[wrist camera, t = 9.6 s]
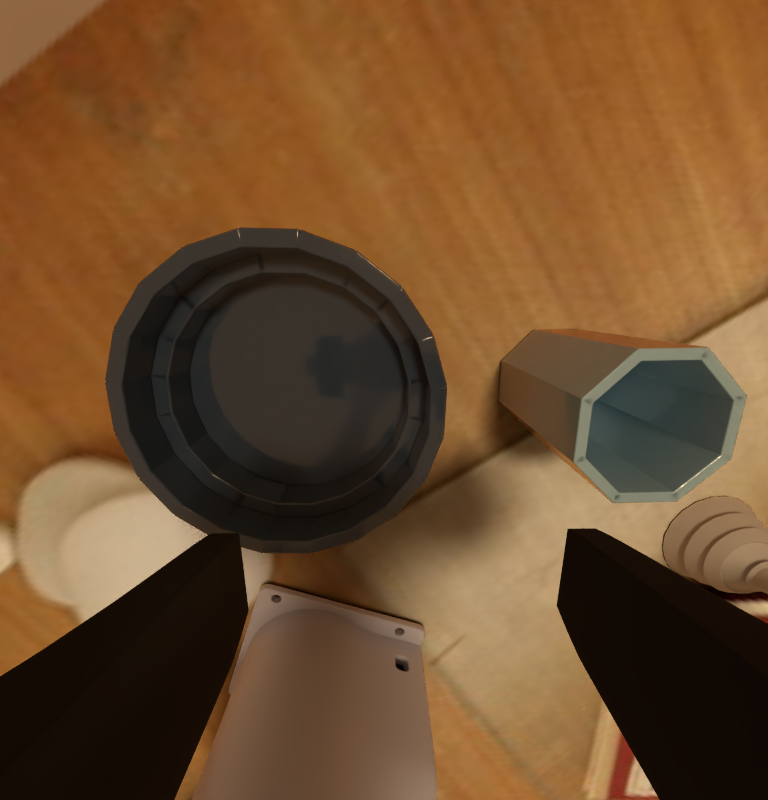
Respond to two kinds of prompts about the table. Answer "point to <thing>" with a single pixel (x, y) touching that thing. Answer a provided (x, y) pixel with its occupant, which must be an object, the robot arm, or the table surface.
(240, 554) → the robot arm
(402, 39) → the table surface
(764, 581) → the chalice
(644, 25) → the table surface
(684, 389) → the cup
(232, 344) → the bowl
